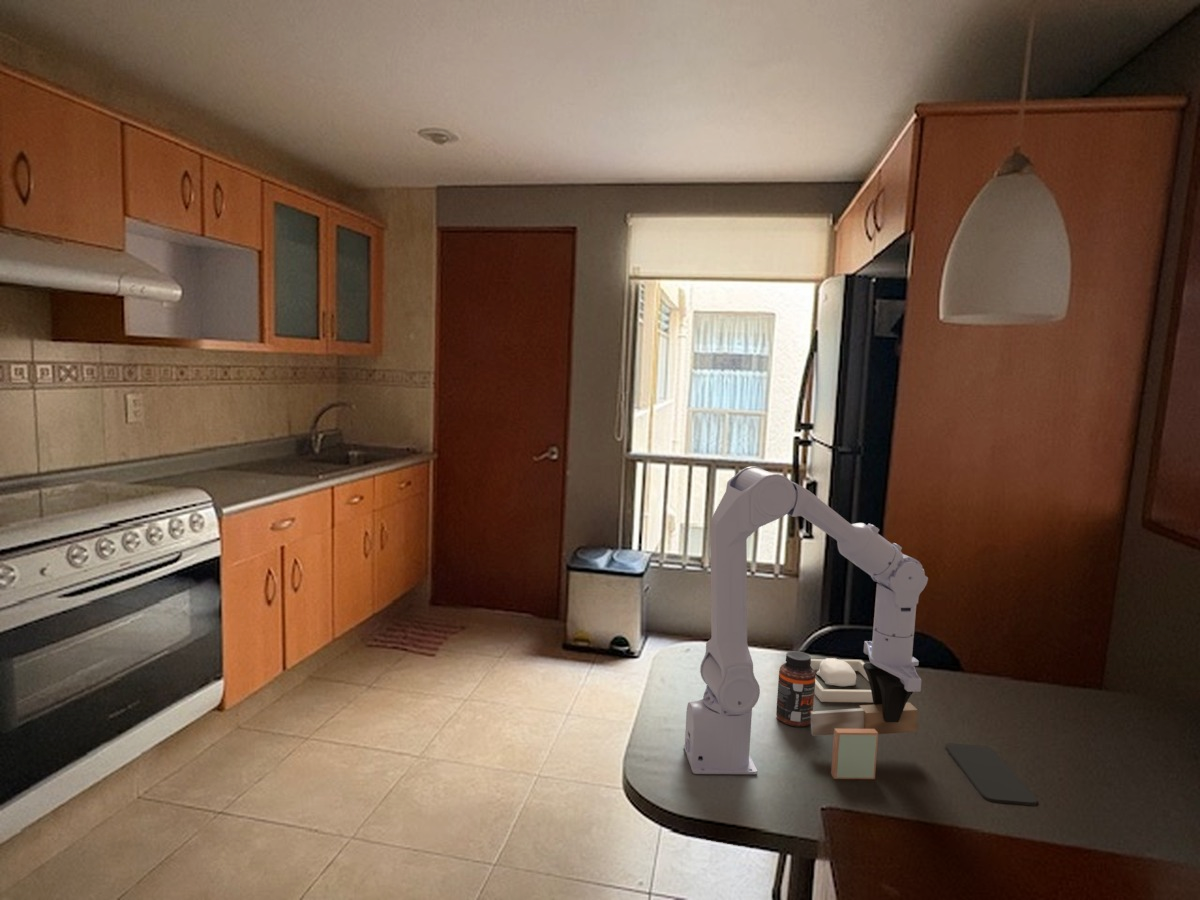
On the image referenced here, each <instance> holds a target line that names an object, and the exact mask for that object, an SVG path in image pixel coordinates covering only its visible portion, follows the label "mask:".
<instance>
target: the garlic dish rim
mask: <svg viewBox="0 0 1200 900" xmlns="http://www.w3.org/2000/svg"><path fill="white" fill-rule="evenodd" d="M825 659H826V658H823V659H821V658H818V659H817V658H811V664H810V666H811V668H812V669H813V670H814V671H819V669H820V663H821V661H823V660H825ZM841 660H842V661H845V662H847V663H848V664H849V665H850V666H851V667H852V669H853V670H854V671H855V672H858V673H860V675H861V676H863V678H865V679H866V680H867V681H868V682H869V680H868V677H867V674H866V672H865V670H864V668H863V664H865V662H864V660H863V659H841ZM814 696H816V698H817V699H818V700H819V701H820V703H873V698H872V692H871V689H841V688H840V689H835V688H833V689H831V688H830V689H828V688H824V687H823V686H822V685H821V684H820V682H819V681H818V680H817V679H816V678H815V690H814Z"/></svg>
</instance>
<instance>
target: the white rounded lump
mask: <svg viewBox="0 0 1200 900" xmlns="http://www.w3.org/2000/svg"><path fill="white" fill-rule="evenodd" d="M824 659H825V660H823V661H821V663H820V669H819V670H816V672H815V675H816V676H818V677H820V678H821V679H822V680H823V681H824V684H825V685H827V686H836V687H841V688H842V687H843V688H844V687H852V686H855V685H856V684H857V683H856V681H857V674H856V671H854V670H853V669H852V667H851V666H850V665H849V664H848V663H847V662H845V661H842V660H843V659H837V657H833V658H832V657H831V658H828V657H825V658H824Z"/></svg>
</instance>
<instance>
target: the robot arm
mask: <svg viewBox="0 0 1200 900" xmlns="http://www.w3.org/2000/svg"><path fill="white" fill-rule="evenodd" d="M786 515H788V516H790V517H793V518H794V517H795V518H796V517H802V518H803V519H805V520H806V521H807V522H809V523H811V524H812V525H813V526H815V527H816V528H818V529H819V530H821V531H822V532H824V533H826V534H827V535H828V536H829V537H831V538H833V539H834V540H835V541H836V542H837V543H836V544H837V550H838V552H839V554H840V555H841V556H843V557H844V558H845V559H847V560H848V561H849V562H851V563H852V564H854V565H855V566H856V567H858V568H859V569H860V570H862V571H863V572H864V573H866V574H868V575H869V576H870V578H871V579H872V580H873V582H876V588H875V590H876V591H875V602H874V617H873V628H872V637H871V638H872V640H869V641H868V640H864V642H863V643H864V644H863V653H864V654H865V655H867V656H868V658H869V662H867V663H865V662H864V663H865V664H863V668H864V670H865V672H866V674H867V677H868V680H869V681H868V680H867V681H868V682H869V686H870V690H871V692H872V698H873V702H872V703H873V704H872V705H876V704H882V712H883V718H884V721H885V722H899V720H900V717H901V715H902V712H903V709H904V707H905V705H906V702H908V701H909V699H910V698H911V696H912V694H913V693H914V692H915V693H916V692H921V690H922V678H921V677H920V676H919V674H918V673H917V670H916V667H917V666H919V662H920V661H919V660H918V659H917V658H916V657H914V656H913V651H914V649H913V648H914V638H915V628H916V627H915V626H916V612H917V605H918V604H919V599H920V598H919V597H920V594H921V593H922V592H923V591H924V589H925V587H927V584H928V581H929V577H928V576H927V575H926V572H925V569H924V568H923V567H924V566H923V565H922V564H921V562H920V561H919V560H918V559H916V558H914V557H911V556H909V555H907V554H904V553H903V552H902V549H903V547H902V546H900V544H897V543H895V542H890V541H888V539H886V538H885V537H883V536H882V535H881V534H879V532H880V528H879V527H876V525H874V524H871V523H868V524H866V523H864V522H856V523H850V522H849V521H847V520H846V519H845V518H844V517H842V515H840V514H839V513H838V512H837V511H835V510H834V509H833V508H832V507H830V506H829V505H828V504H827V503H825V502H824V501H823V500H821V499H820V498H818V496H816V495H815V494H814V493H813V492H811V491H810V490H808V489H806V488H805V487H803V486H802V485H800V484H798V483H797V482H794V481H791V480H790V479H789V478H788V477H786V476H784V475H782V474H781V473H780V474H779V473H774V472H771V471H767V470H765V469H764V468H761V467H759V466H747V467H744V468H742V469H741V470H739V472H737V473H736V474H735V475H733V477H731V478H730V479H729V480H728V481H727V483H726V488H725V492H724V494H723V496H722V498H721V500H720V502H719V503H718V505H717V507H716V509H715V511H714V513H713V515H712V517H711V519H710V523H709V536H710V538H709V542H710V543H709V544H710V545H709V547H710V549H709V553H710V554H709V556H710V559H709V560H710V621H711V622H710V625H711V631H710V633H711V635H710V636H711V638H709V640H708V641H706V643H705V653H704V657H703V659H702V661H701V662H700V668H699V670H700V671H699V673H700V676H701V679H702V680H703V682H704V683H705V684H706V688H705V691H704V693H703V698H702V699H699V700H695V701H689V702H687V706H686V711H685V712H686V713H685V714H686V716H685V717H686V718H685V735H684V743H683V748H684V751H685V754H686V757H687V760H688V763H689V766H690V768H691V772H692V773H693V774H694V775H757V774H758V768H757V766H756V765H755V763H754V761H753V759H752V757H751V755H750V747H751V733H752V732H751V731H752V730H751V729H752V715H753V708H754V707H755V706H756V705H757V704H758V700H760V699H759V698H760V694H761V689H760V685H759V681H758V680H757V678H756V677H755V673H754V662H753V659H752V655H751V652H750V650H749V649H750V648H749V646H748V581H747V580H748V575H747V574H748V573H747V572H748V569H747V567H748V564H747V562H748V561H747V558H748V556H747V555H748V553H747V549H748V548H747V543H748V542H747V540H748V538H749V537H750V536H751V535H753V533H754V532H756V531H757V530H758V529H760V528H761V527H763V526H765V525H767V524H770V523H772V522H775V521H777V520H779V519H781V518H782V517H785V516H786Z"/></svg>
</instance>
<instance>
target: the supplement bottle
mask: <svg viewBox="0 0 1200 900" xmlns="http://www.w3.org/2000/svg"><path fill="white" fill-rule="evenodd" d="M785 655H786V656H785V662H783V664H781V665H780V666H779V669H778V670H779V671H778V682H777V683H778V685H777V696H776V697H777V699H776V718H777V719H778V720H779V721H781V722H782V723H783V724H785V725H787V726H791V727H792V726H793V727H796V728H797V727H798V728H799V727H801V728H803V727H806V726H808V725H811V711H814V703H815V702H814V701H815V698H814V697H815V694H814V690H815V679H816V676H817V675H816V670H813V669H812V668H811V666H810V664H811V659H812V657H811V655H810V654H808V653H806V652H803V651H799V650H798V651H796V650H793V651H791V650H790V651H788V652H786V654H785Z"/></svg>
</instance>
